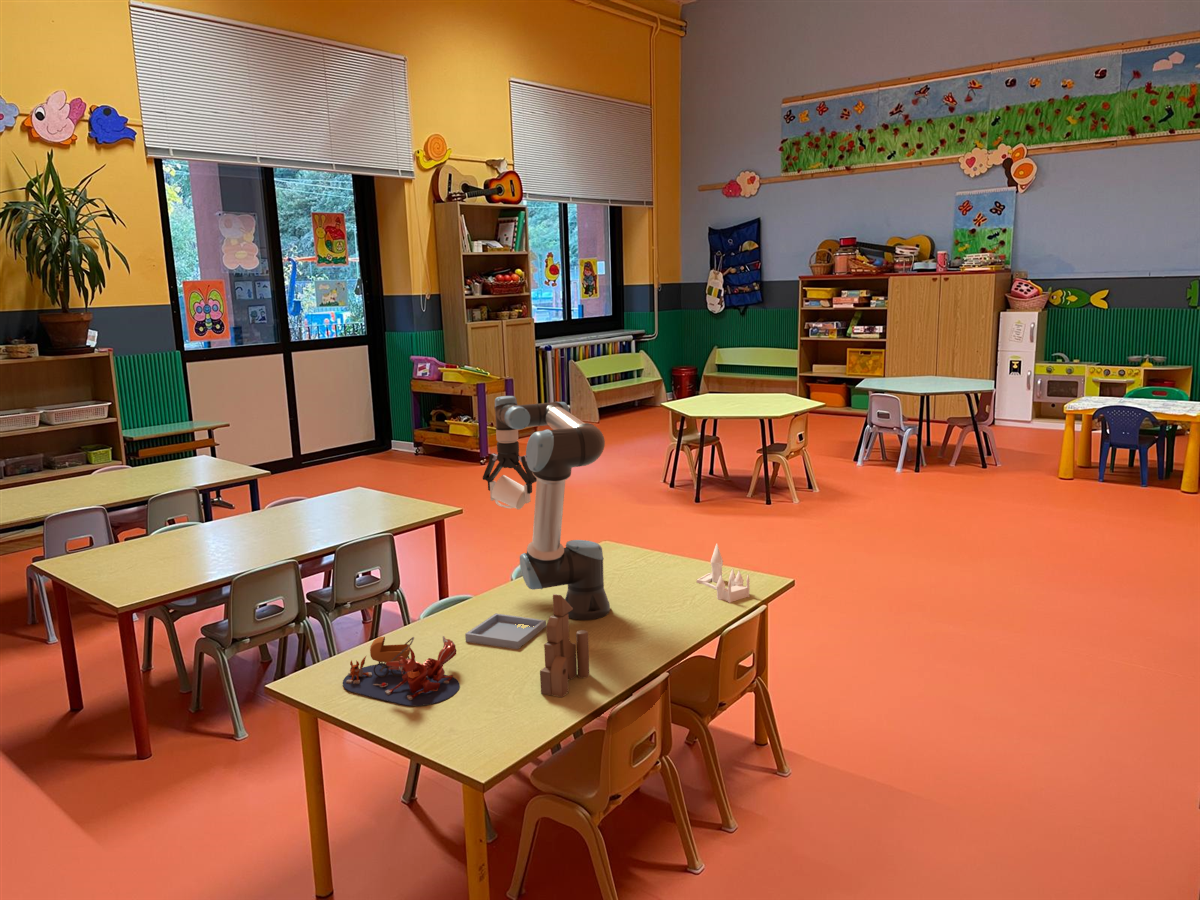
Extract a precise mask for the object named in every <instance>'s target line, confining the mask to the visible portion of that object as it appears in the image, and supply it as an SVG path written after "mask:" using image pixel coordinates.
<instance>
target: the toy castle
mask: <svg viewBox="0 0 1200 900" xmlns="http://www.w3.org/2000/svg"><path fill="white" fill-rule="evenodd" d="M723 563H724V560H723V557H722V555H721V551H720V548H719V545H718V543H716V544H715V546H714V549H713V553H712V556H711V559H710V566H711V572H708V573H706V574H704V575H703V576H701V577H699V578H697V579H696V583H697V584H701V585H704V586H705V587H708V588H711V589H713V590H716V599H717V600H719V601H725V602H728V603H729V604H731V603H733V602H735V601H739V600H742V599H745V598H750V578H749V575H747V576H746V586H745V585H744V578H743V576H742V574H741V572H740V570H738V571H737V574H736V575H735V571H734V569H733V567H732V568H731V571H730V573H729V577H728V583H727V587H726V583H725V581H724V579H723ZM710 582H712V583H716V584H712V583H710Z"/></svg>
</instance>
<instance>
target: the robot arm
mask: <svg viewBox="0 0 1200 900" xmlns="http://www.w3.org/2000/svg"><path fill="white" fill-rule="evenodd" d="M494 413H495V414H494V415H495V433H496V435H495V436H496V441H497V443H496V452H497V453H491V454H489V456H488V457H489V459H488V463H487V465H486V468H485V470H484V473H483V475H482V480H483V481H486V482H487V490H488V491H489V492H490V493H489V494H490V501H491V502H493V501H495V499H494V498H492V490H493V488H494V485H495V484H496V482H497V480H495V478H496V477H497V475H498V474H499V473H500V472H501V471H502V469H506V468H507V469H514V470H515V471H516V473H517V474H518V475H519V476H520V477H521V479H522V480H523V481H524V482H525V484H524V485H523V486H524V491H525V504H529V503H531V502H532V501H531V500H532V498H531V497H532V496H531V494H532V493H533V484H534V483H536V486H535V498H534V514H533V515H534V516H533V528H532V541H530V542H529V543H528V544H527V547H526V552H523V553H521V554H520V555H519V567H520V573H521V574H522V579H523V581H524V583H525V585H526V586H527V588H528V589H530V590H543V589H548V588H553V587H560V586H566V585H567V591H566V596H565V597H564V599H565V600H566V601H567V602H568V604H569V605H570V606H571V607H572V608H573V610H571V611H570V612H568V618H570V619H573V620H577V621H578V620H580V621H589V620H590V621H591V620H596V619H601V618H604V617H605V616H607V615H609V614H610V612H611V605H610V601H609V599H608V596H607V594H606V590H605V587H604V586H605V584H604V583H605V582H604V580H605V578H604V577H605V576H604V556H603V552H604V551H603V547H602V546H601V545H600V544H599V543H597V542H594V541H591V540H586V539H585V540H583V539H573V540H569V541H566V544H565V547H564V546H563V544H562V543H561V536H562V525H563V512H564V501H565V490H566V489H565V487H566V480H568V479H569V478H571V475H572V468H580V467H585V466H588V465H591V464H593V463H595V462H596V461H597V460H598V459H599V458H600V457H601V455H602V454H603V452H604V449H605V446H606V443H605V441H606V440H605V437H604V434H603V432H602V431H601V429H600V428H598V427H597V426H596V425H594V424H592V423H589V422H584V421H582V420H581V419H579V418H578V417H577V416H575V415H573V414H572V413H570V408H569V406H568V404H567V403H566V402H565V401H554V402H552V401H551V402H544V403H543V402H542V403H529V404H518V401H517V397H516V396H514V395H502V396H497V397H496V398H495V399H494ZM542 426H548V427H550V428H551V429H544V430H539V431H535V432H533V433H532V434H531V435H530V437H529V439H528V441H527V443H526V448H525V449H526V450H525V455H521V456H520V453H519V452H520V446H519V444H520V443H519V430H523V429H525V428H532V427H542ZM496 461H498V463H497V464H496ZM519 461H520V462H521V463H520V462H519ZM495 464H496V466H495ZM521 464H522V465H521ZM494 466H495V468H494ZM522 466H523V467H522Z"/></svg>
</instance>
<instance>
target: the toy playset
mask: <svg viewBox="0 0 1200 900" xmlns="http://www.w3.org/2000/svg"><path fill="white" fill-rule="evenodd" d="M385 640H386V637H385V636H378V637H377V638H375V639H374V640H373V642H372V643H371V645H370V647H369V654H370V655H369V656H370V658H371V659H372V660H373V661H376V662H378V663H377V664H372V665H367V666H364V665H365V664H366V662H365V661H366V658H367V655H366V656H364V657H363V658H362V660H361V661H360V662H359V661H358V660H355V661H356V662H355V663H356V664H354V663H353V660H352V659H351V661H350V662H349V664H350V670H349V672H348V674H347V675H345V677H344V678H343V680H342V686H343V688H344V689H345V690H347V691H348V692H351V693H353V694H358V695H362V696H366V697H370V698H374V699H377V700H382V701H385V702H386V701H387V702H390V703H394V704H398V705H401V706H402V705H403V706H405V707H406V706H408V707H416V706H417V707H421V706H428V705H429V706H430V705H433V704H438V703H440V702H444V701H446V700H448V699H450V698H451V697H454V696H455V695H456V694H457V693H458V691H459V690H460V688H461V687H460V686H461V685H460V682H459V680H458V679H457V678H456V677H454V675H453V674H450V675H449V674H446V673H445V669H444V665H445V664H447V662H449V661H451V660H452V659H453V658H454V657H455V656H456V655H457V649H456V644H455V642H454V641H453V640H451V639H449V638H448V639H447V638H446V637H445V635H444V636H442V642H443V646H442V647H443V648H442V649H441V650H440V651H439V652H438V656H437V659H435V658H432V657H430V658H428V659H426V660H424V662H423V663H420V662H419V661H416V655H415V652H414V651H413V649H412V648H411V645H412V644H413V642H414V640H415V636H412V637H411V638H410V639H408V640H407V642H405V643H404V644H402V643H400V644H385ZM384 644H385V645H384Z"/></svg>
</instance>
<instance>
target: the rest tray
mask: <svg viewBox="0 0 1200 900" xmlns="http://www.w3.org/2000/svg"><path fill="white" fill-rule="evenodd" d="M515 624H516V625H515ZM518 624H524V625H529V626H530V627H529V626H528V627H526V628H524V629H523V628H521V626H522V625H521V626H520V627H518V628H517V625H518ZM533 626H534V627H533ZM545 628H547V620H545V619H537V618H532V617H525V616H524V617H523V616H517V615H510V614H504V613H503V614H502V613H494V614H493V615H491V616H490V617H488V618H486V619H485V620H484V621H482V622H481V623H479V624H478V625H476V626H474V627H473V628H472V629H470V630H468V631H466V633H465V635H464V636H465V642H466V643H473V644H478V645H479V644H480V645H484V646H491V647H492V646H494V647H499V648H505V647H506V649H511V650H519V649H520V648H521V646H522V645H523V646H524V645H525V644H526V643H528V642H529V641H531V640H532V639H533V638H534V637H535V636H536V635H537V634H539V633H540V632H541V631H543V629H545ZM523 646H522V647H523Z"/></svg>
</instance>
